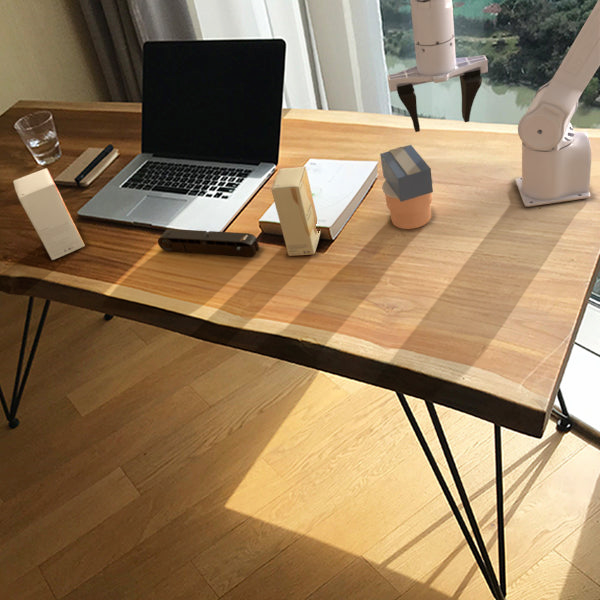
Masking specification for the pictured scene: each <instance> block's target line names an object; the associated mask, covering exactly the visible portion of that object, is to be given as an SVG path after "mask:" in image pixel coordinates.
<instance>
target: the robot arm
mask: <svg viewBox="0 0 600 600" xmlns="http://www.w3.org/2000/svg"><path fill="white" fill-rule="evenodd" d="M453 6H454V5H453V0H410V13H411V22H412V33H413V41H414V52H415V62H416V63H415V64H416V65H415V66H412V67H409V68H407V69H404V70H401V71H398V72H395V73H391V74H387V83H388V88H389V92H390V93H392V92H396V93H397V95H398V98H399V100H400V101H401V103H402V104H403V106H404V107H405V109H406V110H407V112H408V114H409V116H410V119H411V121H412V125H413V129H414V132H415V133H419V132H421V128H420V127H421V125H420V121H419V116H418V106H417V96H416V95H417V94H416V92H415V88H414V86H417V85H423V84H428V83H435V84H439V83H443V82H447V81H449V79H451V78H457V77H459V84H460V92H461V116H462V119H463V122H464V123H469V122H470V118H471V112H472V108H473V105H474V102H475V99H476V96H477V95H478V94H477V93H478V92H479V90H480V88H481V86H482V82H483V77H482V75H481V74H486V73H489V72H488V71H489V70H488V69H489V67H488V66H489V65H488V59H487V57H486V55H484V54H483V55H475V56H466V57H465V56H464V57H457V55H456V38H455V24H454V23H455V22H454V8H453ZM583 24H584V25H583V26H582V28H581V29H580V30H579V33H578V34H577V36H576V37H575V39H574V41H573V43H572V44H571V46H570V48H569V50H568V51H567V53H566V54H565V57H564V58H563V59H562V62H561V63H560V65H559V67H558V68H557V70H556V71H555V73H554V75H553V77H552V78H551V79H550V80H549V81H548V82H547V83H545V84H543V85H542V86H540V87H539V89H538V90H537V91H536V93H535V94H534V96H533V100H532V102H531V103H530V105H529V107H528V108H527V110H526V112H525V113H524V114H523V116H521V118H520V120H519V122H518V125H517V133H518V134H517V135H518V137H519V140H520V141H521V176H520V177H516V178H515V184H516V187H517V190H518V192H519V195H520V197H521V200H522V202H523V205H524V207H537V206H543V205H548V204H556V203H562V202H569V201H575V200H582V199H583V200H584V199H590V197H591V193H590V185H591V172H592V169H591V168H592V144H591V140H590V137H589V134H588V133H587V131H583V130H581V131H578V130H577V131H576V130H574V128H573V127H574V126H572V123H571V120H572V118H573V116H574V115H575V113H576V112H577V109H578V107H579V99H580V98H581V96H582V94H583V92H584V91H585V89H586V88H587V86H588V85H589V83H590V81H591V80H592V78H593V77H594V75H595V74H596V72H597V70H599V68H600V0H598V1H597V2H596V3H595V5H594V7H593V9H592V10H591V12H590V14H589V16H588V17H587V19H586V21H585V22H584V23H583Z"/></svg>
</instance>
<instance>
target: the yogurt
mask: <svg viewBox="0 0 600 600" xmlns="http://www.w3.org/2000/svg"><path fill="white" fill-rule="evenodd" d="M432 185H433V180H432ZM381 186H382V187H381V188H382V193H384V197H385V203H386V207H387V209H388V210H389V212H390V219H391V223H392V224H393V226H394V227H396V228H399V229H402V230H403V229H404V230H413V229H418V228H421V227H423V226H425V225H426V224H428V223H429V222H430V221H431V218H432V208H431V204H432V202H433V192H432V193H428V194H425V195H422V196H418V197H415V198H412V199H408V200H405V201H402V202H401V201H400V200H399V198H398V197H397V195H396V194H395V192H394V191H393V189H392V188H391V187H390V185H389V184H388V182H387V181H386V180H384V181H383V183H382V185H381Z"/></svg>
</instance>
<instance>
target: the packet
mask: <svg viewBox="0 0 600 600" xmlns="http://www.w3.org/2000/svg"><path fill="white" fill-rule="evenodd" d="M379 156H380V162H381V163H380V164H381V168H382V176H383V179H384V180H385V181H387V182H388V184H389V185H390V187H391V188H392V189H393V191H394V192H395V194H396V195H397V197H398V198H399V200H400V201H401V202H402V201H405V200H408V199H412V198H415V197H418V196H422V195H425V194H428V193H432V194H433V193H434V188H433V184H432V181H433V177H432V169H431V167H430V165H428V163H427V162H426V161H425V159H423V158H422V156H421V155H420V153H418V151H417V150H416V149H415V148H414V147H413V145H412V144H408V145H404V146H399V147H396V148H392V149H389V150H388V151H385V152H381V153H379Z"/></svg>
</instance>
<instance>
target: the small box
mask: <svg viewBox="0 0 600 600" xmlns="http://www.w3.org/2000/svg"><path fill="white" fill-rule="evenodd" d="M13 186H14V190H15V193H16V195H17V198H18V200H19V203H20V205H21V206H22V207H23V209H24V211H25V213H26V215H27V217H28V219H29V221H30V223H31V224H32V226H33V228H34V230H35V232H36V233H37V235H38V237H39V239H40V240H41V242H42V245H43V246H44V248H45V250H46V252H47V254H48V256H49V258H50V259H51V261H54V260H56V259H59V258H61V257H64V256H66V255H68V254H71V253H73V252H75V251H78V250H79V249H82V248H84V247H85V246H86V245H85V243H84V241H83V239H82V236H81V235H80V233H79V230H78V227H76V224H75V223H74V220H73V218H72V215H71V214H70V211H69V210H68V207H67V206H66V204H65V201H64V199H63V197H62V195H61V193H60V191H59V189H58V187H57V185H56V183H55V180H54V179H53V177H52V175H51V173H50V171H49V169H48V168H47V167H46V168H43V169H41V170H38V171H35V172H33V173H30V174H27V175H24V176H22V177H19V178H16V179H14V180H13Z"/></svg>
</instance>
